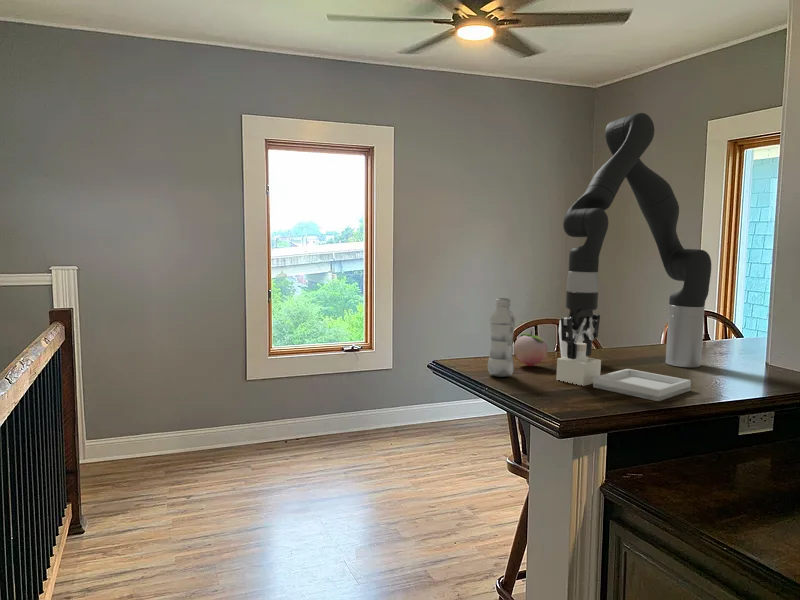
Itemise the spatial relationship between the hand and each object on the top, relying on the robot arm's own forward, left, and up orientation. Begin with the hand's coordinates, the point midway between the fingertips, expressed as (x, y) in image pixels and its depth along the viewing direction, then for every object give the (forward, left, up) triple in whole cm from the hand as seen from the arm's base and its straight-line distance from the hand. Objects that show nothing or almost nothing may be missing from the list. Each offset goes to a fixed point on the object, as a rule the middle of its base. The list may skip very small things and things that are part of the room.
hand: (579, 356), depth 150 cm
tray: (-5, +14, -6) cm, 16 cm away
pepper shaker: (0, 0, -6) cm, 6 cm away
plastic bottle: (+12, -15, -6) cm, 20 cm away
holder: (0, 0, -6) cm, 6 cm away
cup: (-21, -15, -6) cm, 27 cm away
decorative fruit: (-4, -18, -6) cm, 20 cm away
